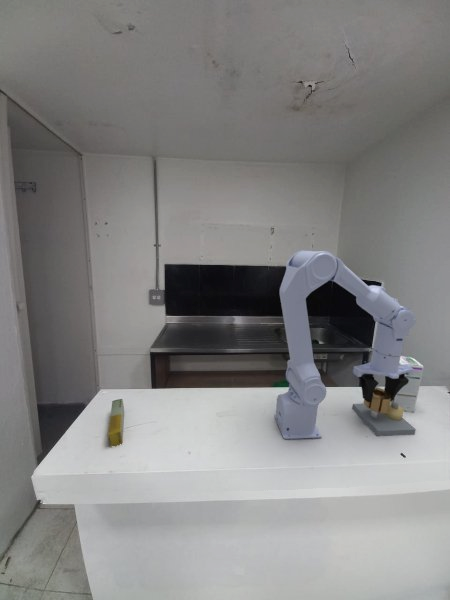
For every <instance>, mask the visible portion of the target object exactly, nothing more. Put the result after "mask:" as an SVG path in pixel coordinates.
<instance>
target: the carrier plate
mask: <svg viewBox="0 0 450 600" xmlns="http://www.w3.org/2000/svg"><path fill="white" fill-rule="evenodd" d="M351 409H352V410H353V411H354V412H355V413H356V415H357V416H358V417H359V418H360V419H361V420H362V421H363V422H364V424H365V425H366V426H367V427H368V428H369V429H370V430H371V431H372V432H373V434H374V435H375V436H376V437H382V436H383V437H386V436H388V437H389V436H413V435H415V434H416V431H417V429H416V428H415V427H413V426H412V425H411V423H409V422H408V421H407V420H406V418H404V417H403V414H404V412H405V411H404V410H403V408H402V407H401V406H399V404H397V403H395V402H390V405H389V409H388V413H379V412H378V413H377V412H374V411H372V410H370V409H368V408H367V407H366V406H365V405H364V403H352V407H351Z"/></svg>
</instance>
